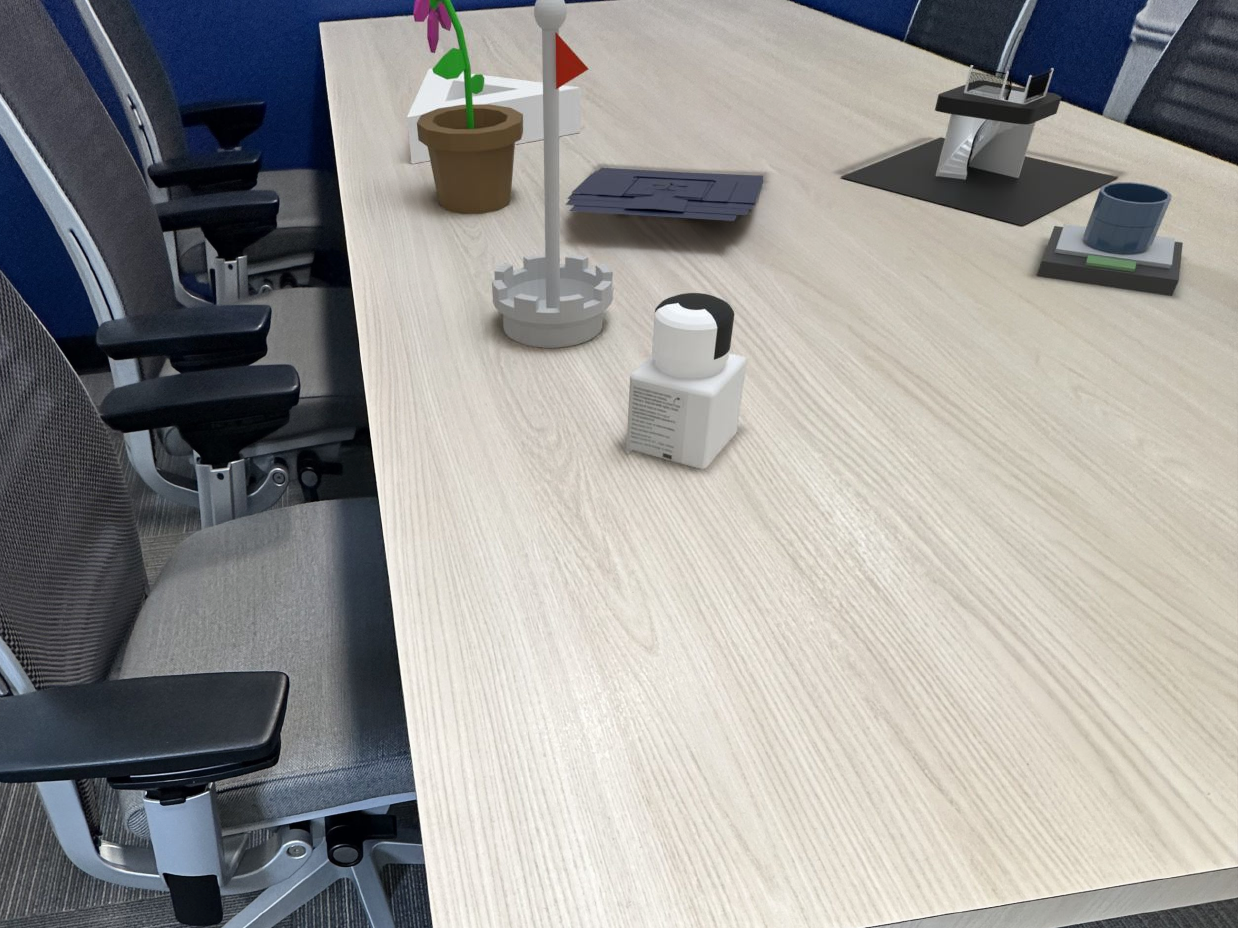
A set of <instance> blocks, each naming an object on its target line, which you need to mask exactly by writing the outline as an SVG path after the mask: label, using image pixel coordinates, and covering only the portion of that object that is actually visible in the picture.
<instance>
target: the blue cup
mask: <svg viewBox="0 0 1238 928" xmlns="http://www.w3.org/2000/svg"><path fill="white" fill-rule="evenodd" d="M1098 191H1099V192H1098V193H1097V194H1098V195H1097V197H1096V200H1095V201H1094V202H1095V203H1094V204H1093V207H1092V211H1091V214H1090V216H1089V219H1088V221H1087V224H1086V226H1085V227H1086V229H1085V232H1084V235H1083V236H1084V242H1085V243H1086V244H1087V245H1088V246H1090V247H1092V248H1094V249H1097V250H1100V251H1103V252H1108V253H1114V254H1138V253H1142V252H1144V251H1146V250H1147V249H1148V248H1149V246H1151V245H1152V243H1153V241H1154V239H1155V236H1157V234H1158V231H1159V229H1160V226H1161V224H1162V222H1163V220H1164V217H1165V214H1166V212H1167V210H1168V207H1169V205H1170V204H1171V203H1170V202H1171V200H1172V193H1170V192H1169V191H1168V190H1166V189H1163V188H1161V187H1159V186H1157V185H1151V184H1148V183H1141V182H1134V181H1133V182H1132V181H1126V182H1125V181H1118V182H1109V183H1106V184H1104V185H1102V186H1100V187H1099V190H1098Z"/></svg>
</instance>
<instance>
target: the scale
mask: <svg viewBox="0 0 1238 928" xmlns="http://www.w3.org/2000/svg"><path fill="white" fill-rule="evenodd" d="M1086 227H1087V226H1084V225H1075V224H1068V223H1064V224H1063V226H1059V225H1054V226H1053V229H1052V231H1051V234H1050V237H1049V240H1048V242H1047V245H1046V248H1045V251H1044V253H1043V256H1042V259H1041V262H1040V265H1039V267H1038V271H1037V274H1036V277H1040V278H1047V279H1053V280H1061V281H1066V282H1074V283H1081V284H1086V285H1094V286H1101V287H1107V288H1113V289H1121V290H1128V291H1135V292H1140V293H1148V294H1154V295H1155V294H1157V295H1163V296H1168V297H1172V296H1173V294H1174V293H1175V290H1176V287H1177V285H1178V284H1179V281H1180V273H1181V264H1182V254H1183V246H1184V245H1183V244H1184V242H1181V241H1176V238H1175V237H1170V236H1169V237H1168V236H1160V235H1156V236H1155V239H1154V241H1153V243H1152V245H1151V246H1149V248H1148V249H1147V250H1146V251H1144V252H1142V253H1138V254H1114V253H1108V252H1103V251H1100V250H1097V249H1094V248H1092V247H1090V246H1088V245H1087V244H1086V243H1085V242H1084V236H1083V235H1084V232H1085V229H1086Z"/></svg>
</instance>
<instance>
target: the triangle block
mask: <svg viewBox="0 0 1238 928" xmlns="http://www.w3.org/2000/svg"><path fill="white" fill-rule="evenodd" d="M475 74H476V73H471V77H473V76H474V75H475ZM482 75H483V77H484V86H483V91H482V92H480V93H478V94H474V93H472V101H473V105H480V104H490V105H496V106H503V107H509V108H512V109H514V110H516V111H518V112H520V113H521V114H523V134H522V138H521V140H519V141H517V142H515V146H517V145H522V144H526V143H531V142H536V141H542V140H543V141H544V128H543V82H541V81H532V80H524V79H516V78H508V77H501V76H493V75H485V74H482ZM581 96H582V95H581V87H579V86H572V85H571V86H570V85H565V84H564V85H563V86H561V87H559V137H563V136H569V135H574V134H579V133H581ZM457 105H466V100H465V84H464V71H463V72H462V73H461V74H460V76H459V77H458V78H455V79H445V78H443V77H441V76H438V75H436V74H434V73H433V68H430V67H429V68H428V69H427V72H426V74H425V77H424V78H423V81H422V83H421V85H420V88H419V90H418V92H417V93H416V96H415V99H414V100H413V102H412V105H411V107H410V108H409V109H410V110H409V112H408V114H407V116H406V122H407V131H408V142H409V152H410V161H411V165H415V164H421V163H425V162H430V157H429V152H428V147H427V146H426V145H424V144H423V143H422V142H420V141H419V140H418V130H417V122H418V120H419V118H420V116H421V115H423V114H425V113H428V112H430V111H433V110H436V109H438V108H445V107H451V106H457Z"/></svg>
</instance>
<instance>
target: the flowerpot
mask: <svg viewBox="0 0 1238 928" xmlns="http://www.w3.org/2000/svg"><path fill="white" fill-rule="evenodd" d="M412 15H413V19H414V20H413V21H414V22H415V23H424V22H425V21H426V38H427V39H426V40H427V43H428V47H429V50H430V53H431V54H436V51H437V47H438V44H439V41H440V35H439V34H440V26H441V28H442V29H444V30H446V31H449V32H450V31H451V29H452V26H453V28H454V31H455V35H456V39H457V44H458V48H457V47H456V48H455V47H452V48H451V49H449V50H448V51H447V52H445V53H444V54H443V56H442V57H441V58H440V59H439V60H438V61H437V63H436V64H435V65H434V67H432V69H433V73H434V74H436V75H438V76H441V77H443V78H445V79H455V78H458V77H459V76H460V74H461V73H462V72H463V73H464V84H465V100H466V105H457V106H451V107H445V108H438V109H436V110H433V111H430V112H428V113H425V114H423V115H421V116H420V118H419V120H418V122H417V130H418V140H419V141H420V142H422V143H423V144H424V145H426V146H427V147H428V152H429V157H430V161H429V162H430V166H431V171H432V176H433V180H434V181H433V182H434V185H435V191H436V195H437V201H438V205H439V206H440V207H441V208H442V209H444V210H445V211H449V212H454V213H458V214H485V213H491V212H495V211H499V210H501V209H503V208H505V207H507V206H509V205H510V202H511V199H512V186H513V175H514V174H513V173H514V161H515V149H516V148H515V147H516V145H515V142H517V141H519V140H521V138H522V134H523V114H521V113H520V112H518V111H516V110H514V109H512V108H509V107H503V106H496V105H490V104H480V105H473V101H472V93H474V94H478V93H480V92H482V91H483V86H484V77H483V75H484V74H479V73H478V74H477V73H474V74H475V75H474V76H473V77H471V74H472V70H471V62H470V58H469V52H468V48H467V43H466V37H465V33H464V29H463V26H462V24H461V21H460V20H459V17H458V15H457V13H456V10H455V8H454V6H453V3H452V1H451V0H414V5H413V14H412Z"/></svg>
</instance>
